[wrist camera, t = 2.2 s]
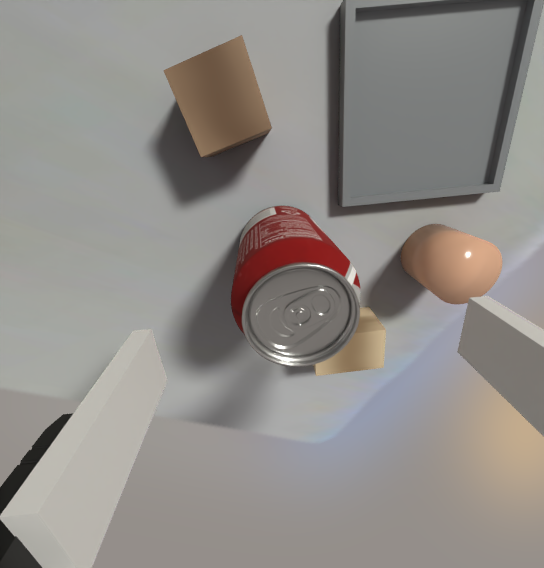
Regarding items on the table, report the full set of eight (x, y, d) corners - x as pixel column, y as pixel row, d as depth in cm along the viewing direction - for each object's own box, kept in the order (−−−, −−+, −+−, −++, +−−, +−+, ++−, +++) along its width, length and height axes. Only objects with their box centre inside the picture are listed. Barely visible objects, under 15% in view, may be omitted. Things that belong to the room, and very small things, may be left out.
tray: (338, 204, 23) (342, 207, 22) (340, 5, 18) (345, -5, 17) (487, 189, 23) (499, 191, 22) (531, -12, 18) (549, -23, 17)
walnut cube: (211, 156, 21) (200, 157, 17) (182, 88, 19) (163, 70, 15) (268, 133, 21) (271, 127, 17) (244, 61, 19) (241, 35, 15)
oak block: (308, 348, 29) (316, 375, 25) (306, 313, 27) (313, 338, 24) (367, 340, 29) (383, 367, 25) (368, 306, 27) (385, 329, 24)
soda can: (224, 230, 23) (197, 297, 12) (297, 187, 22) (338, 219, 11) (265, 294, 26) (273, 396, 15) (332, 258, 25) (393, 340, 14)
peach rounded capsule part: (398, 280, 26) (428, 307, 22) (403, 226, 24) (438, 243, 20) (451, 275, 26) (493, 300, 22) (462, 221, 24) (510, 236, 20)
